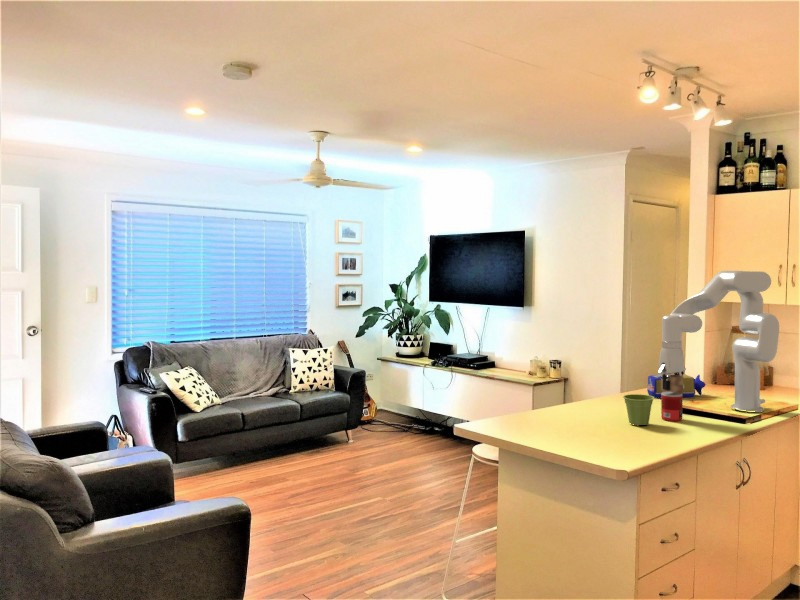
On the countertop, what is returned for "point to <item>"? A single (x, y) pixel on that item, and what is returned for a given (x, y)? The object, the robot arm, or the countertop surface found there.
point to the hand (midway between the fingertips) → (672, 388)
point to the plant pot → (638, 408)
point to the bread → (688, 382)
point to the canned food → (671, 406)
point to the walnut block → (674, 383)
